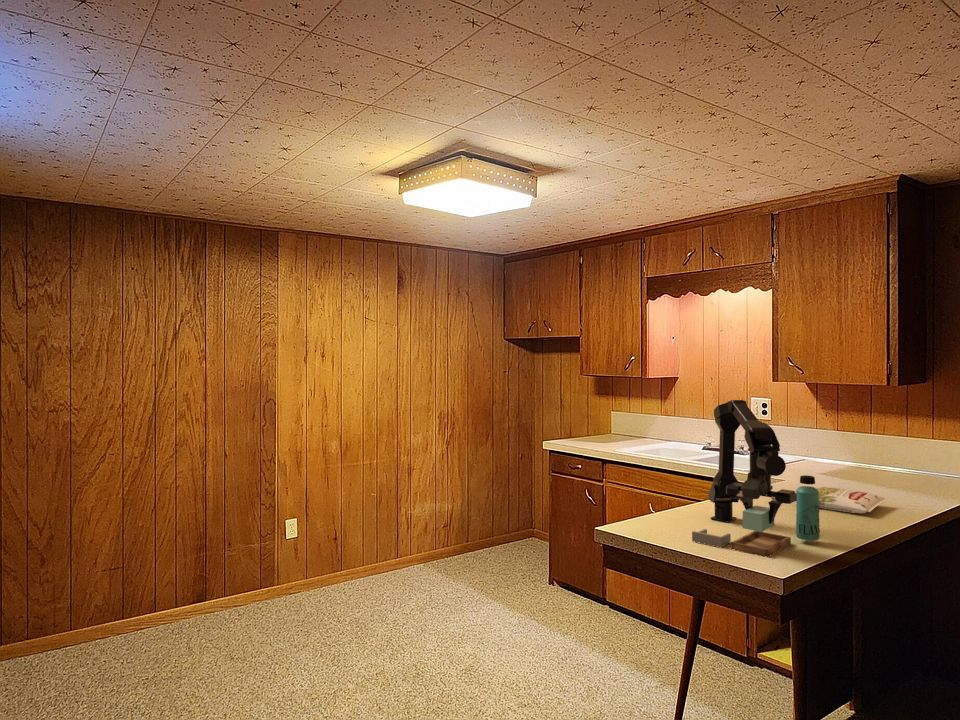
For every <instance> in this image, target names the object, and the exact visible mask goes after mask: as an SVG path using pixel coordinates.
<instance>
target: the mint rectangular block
mask: <svg viewBox="0 0 960 720" xmlns="http://www.w3.org/2000/svg"><path fill="white" fill-rule="evenodd" d="M769 511H770V507H766V506H760V505H753V507H751V508H749V509H746V510H742V529H745V530H750V531H759V532H765V531H766V530H768V529H770V528H772V527H774V526H775V519H774V520H773V522H772V524H770V523H769Z"/></svg>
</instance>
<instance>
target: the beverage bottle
mask: <svg viewBox="0 0 960 720" xmlns="http://www.w3.org/2000/svg"><path fill="white" fill-rule="evenodd" d="M815 478H816V477H815V476H813V475H800V477H799V483H800V484H801V485H800V486H799V487H797V489H795V493H796V494H797V501H795V502H796V505H795V506H796V507H795V508H796V513H795V517H796V518H795V535H796V538H798V539H800V540H803V541H810V542H811V541H812V542H813V541H818V540H820V537H821V536H820V535H821V534H820V533H821V530H820V509H821V508H819V502H820V501H819V491H818V490H817V489H816V487H814V486H810V485H815V484H816V479H815ZM808 485H809V486H808Z"/></svg>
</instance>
